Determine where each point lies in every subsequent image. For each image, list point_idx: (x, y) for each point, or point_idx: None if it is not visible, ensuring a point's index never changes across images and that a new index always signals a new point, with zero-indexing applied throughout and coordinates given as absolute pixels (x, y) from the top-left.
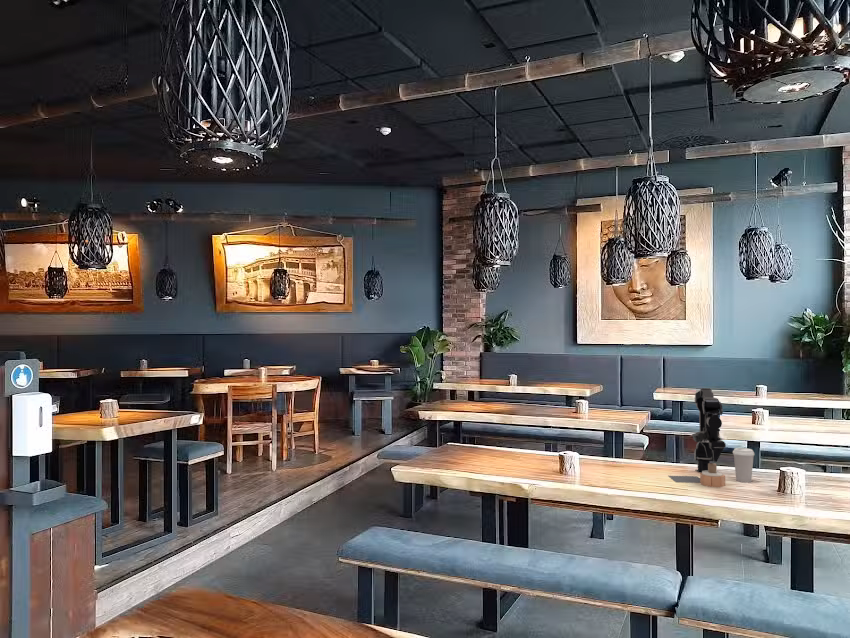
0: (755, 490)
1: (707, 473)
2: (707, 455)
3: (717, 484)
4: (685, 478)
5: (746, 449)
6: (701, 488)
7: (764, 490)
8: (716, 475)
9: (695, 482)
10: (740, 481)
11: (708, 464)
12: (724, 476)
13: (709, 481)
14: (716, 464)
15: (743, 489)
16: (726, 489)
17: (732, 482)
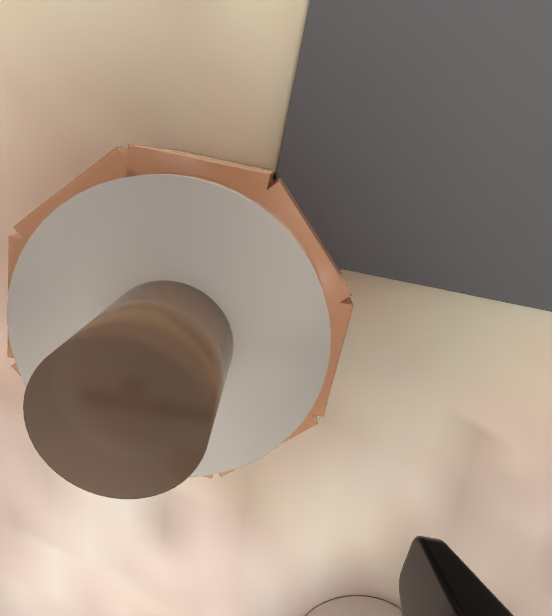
0: (8, 550)
1: (85, 216)
2: (436, 587)
3: None
4: (547, 101)
5: None
6: (57, 64)
7: (14, 608)
8: (14, 316)
9: (303, 119)
10: (325, 604)
11: (116, 329)
12: None
13: None
14: (70, 477)
15: (38, 482)
16: None
17: (312, 533)
